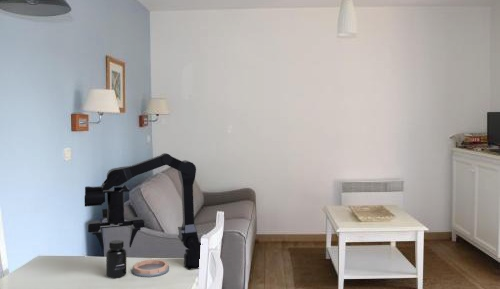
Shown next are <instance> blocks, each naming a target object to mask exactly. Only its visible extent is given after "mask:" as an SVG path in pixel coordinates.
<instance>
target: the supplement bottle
mask: <svg viewBox="0 0 500 289" xmlns="http://www.w3.org/2000/svg"><path fill="white" fill-rule="evenodd" d="M124 246H125V245H124V240H120V239H118V240H117V239H114V240H111V241H109V244H108V247H109V249H107V250H106V254H105V256H106V257H105V258H106V259H105V262H106V263H105V264H106V265H105V267H106V268H105V269H106V270H105V271H106V272H105V274H106V275H105V276H106V277H107V278H109V279H120V278H123V277H125V276H126V275H127V250H126V249H125V247H124Z"/></svg>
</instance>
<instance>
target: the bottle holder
mask: <svg viewBox="0 0 500 289" xmlns="http://www.w3.org/2000/svg"><path fill="white" fill-rule="evenodd" d="M132 267H133V268H132V274H133V276H136V277H138V278H139V277H140V278H155V277H160V276H163V275H166V274H167V273H168V272H169V271H170V266H169V264H168V261H165V260H163V259H154V258H153V259H144V260H141V261H138V262H136V263H134V265H133V266H132Z"/></svg>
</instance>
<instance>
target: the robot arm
mask: <svg viewBox="0 0 500 289" xmlns="http://www.w3.org/2000/svg"><path fill="white" fill-rule="evenodd" d="M164 166H168V167H170V168H172V169H175V170H177V174H178V179H179V180H180V185H181V201H182V202H181V205H182V206H181V208H182V210H181V211H182V225H181V226H178V227H177V229H178V235H177V238H178V239H179V241H180V242H181V243H182V245H183V246H184V247H185V248H186V249H185V251H184V252H185V253H184V254H183V265H184V267H186V269H187V270H195V269H199V268H198V267H199V259H200V245H201V241H200V240H199V236H198V231H197V227H196V224H195V211H194V210H195V208H194V183H195V180H196V175H197V167H196V165H195V164H194V163H193V162H191V161H189V160H186V159H185V160H180V159H178V158H176V157H173V156H172V155H171V154H169V153H161V154H160V155H158V156H155V157H151V158H149V159H145V160H143V161H140V162H138V163H135V164H132V165H126V166H119V167H114V168H110V169H109V170H107V173H106V179H105V180H104V181H103V182H102V184H101V185H98V186H89V185H88V186H84V207H98V206H99V207H102V206H103V204H104V203H107V205H106V206H107V208H103V209H101V219H104V220H105V219H106V221H107V222H100V220H89V221H88V222H87V233H91V234H92V235H95V236H96V238H97V240H98V242H99V246H100V248H101V250H102V251H104V242H103V234H102V230H101V229H109V228H118V227H119V228H120V227H129V228H130V230H129V231H130V233H129V239H128V240H129V242H128V244H129V248H131V247H132V245H133V241H134V239H135V238H136V235H137V233H138V231H140V230H142V229H143V228H145V219H143V217H141V216H136V217H132V216H131V219H129V220H125V218H126V217H125V193H128V192H131V190H130V188H129V187H128V186H126V184H125V183H126V182H129V181H130V180H131V179H133V178H134V177H136V176H138V175H142V174H145V173H147V172H151V171H152V170H156V169H158V168H162V167H164ZM141 228H142V229H141Z"/></svg>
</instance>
